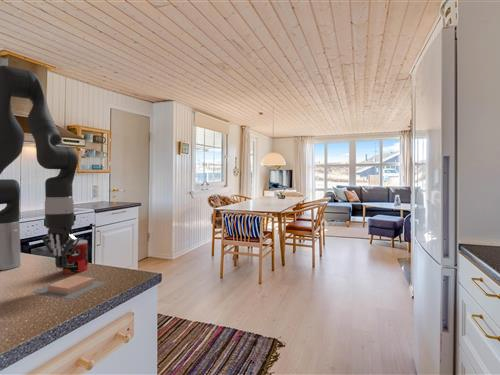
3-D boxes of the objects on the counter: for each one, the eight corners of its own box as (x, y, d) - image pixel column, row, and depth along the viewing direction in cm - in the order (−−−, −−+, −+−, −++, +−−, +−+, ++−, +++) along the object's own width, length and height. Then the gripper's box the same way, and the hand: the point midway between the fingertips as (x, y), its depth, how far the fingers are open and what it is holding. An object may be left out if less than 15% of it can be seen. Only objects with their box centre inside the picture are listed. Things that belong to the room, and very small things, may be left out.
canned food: (57, 274, 104) (56, 243, 104) (77, 267, 112) (76, 238, 111) (73, 276, 102) (73, 245, 101) (92, 269, 109) (92, 240, 109)
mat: (31, 294, 87) (31, 292, 87) (70, 279, 99) (70, 277, 99) (70, 300, 82) (70, 298, 82) (106, 284, 95) (106, 282, 95)
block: (47, 285, 87) (68, 288, 85) (74, 275, 96) (93, 278, 93) (47, 291, 87) (68, 294, 85) (74, 280, 96) (93, 283, 94)
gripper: (31, 212, 89) (33, 268, 90) (65, 213, 85) (66, 273, 86) (54, 209, 96) (56, 261, 97) (86, 210, 92) (87, 265, 93)
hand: (61, 267), depth 91 cm, fingers closed
